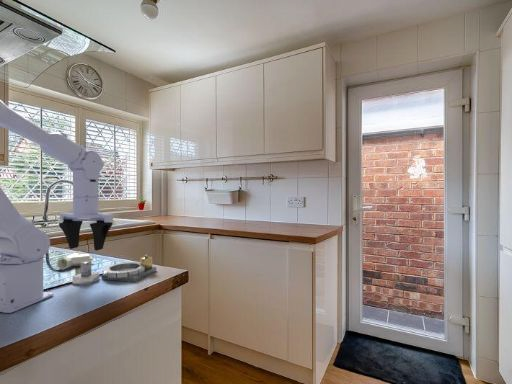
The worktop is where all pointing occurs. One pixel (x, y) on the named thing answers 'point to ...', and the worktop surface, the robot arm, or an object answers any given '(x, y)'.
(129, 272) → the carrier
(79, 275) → the silver stemmed round piece
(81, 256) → the pipe fitting
